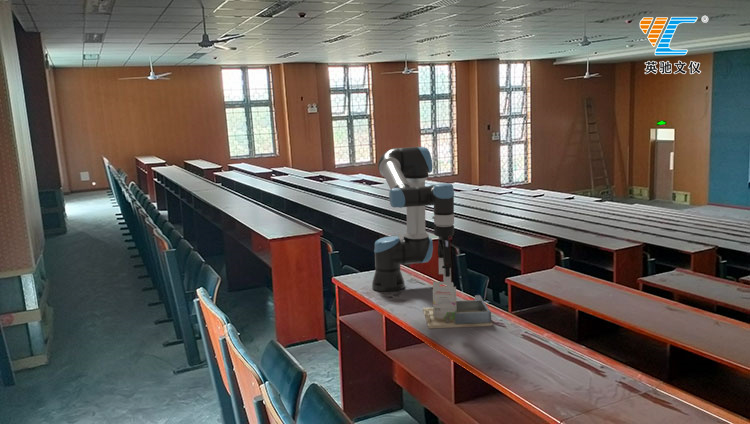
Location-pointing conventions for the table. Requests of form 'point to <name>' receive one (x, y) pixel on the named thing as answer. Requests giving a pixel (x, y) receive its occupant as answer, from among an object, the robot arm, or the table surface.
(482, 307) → the housing
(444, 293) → the ink box
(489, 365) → the table surface
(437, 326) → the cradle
